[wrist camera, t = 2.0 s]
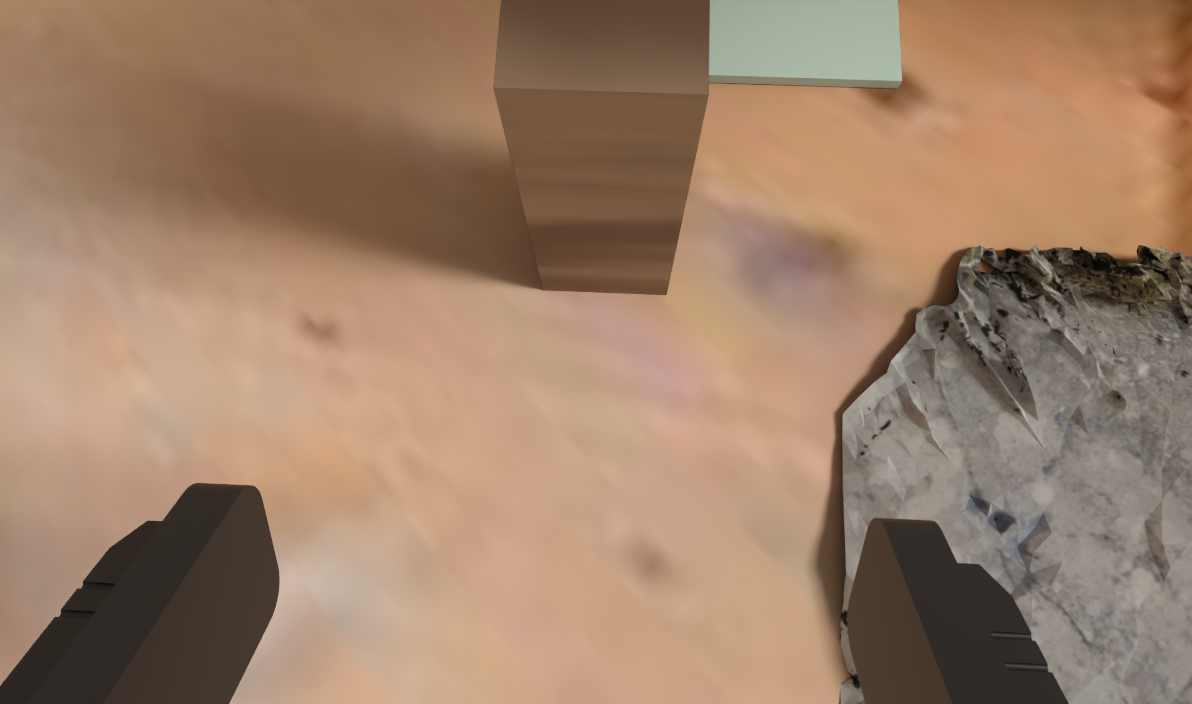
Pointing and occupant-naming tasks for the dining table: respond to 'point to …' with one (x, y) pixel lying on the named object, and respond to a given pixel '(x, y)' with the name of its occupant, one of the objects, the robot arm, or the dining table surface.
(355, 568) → the dining table surface
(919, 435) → the stone fragment
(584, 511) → the dining table surface
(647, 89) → the walnut block
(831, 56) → the mat
